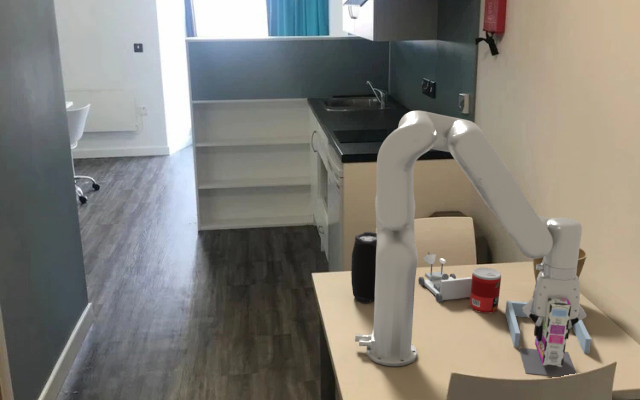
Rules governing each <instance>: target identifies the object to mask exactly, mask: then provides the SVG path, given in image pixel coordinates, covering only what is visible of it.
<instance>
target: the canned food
mask: <svg viewBox="0 0 640 400" xmlns="http://www.w3.org/2000/svg"><path fill="white" fill-rule="evenodd" d="M471 273H472V275H471V277H472V283H471V295H470V297H469V305H470V308H471V309H472V310H474V311H476V312H478V313H481V314H482V313H483V314H493V313H495V312H497V310H498V308H499V303H500V302H499V300H500V290H501V282H502V273H501V272H500V271H499V270H497V269H495V268H491V267H476V268H474V269H473V270H472V272H471Z"/></svg>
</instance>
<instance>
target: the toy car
mask: <svg viewBox="0 0 640 400" xmlns="http://www.w3.org/2000/svg"><path fill="white" fill-rule="evenodd" d="M436 257H437V255H436V254H435V253H434V254H433V253H431V254H430V252H427V255H425V256H424V257H423V260H424V261H425V262H426V263H427V264H428V265H430V272H425V273H424V276H425V277H426V279H425V278H424V276H419V277H418V281H417V282H418V285H420V286H421V287H426V288H427V289H428V290H429V291H430V292H431V293H432V294H433V295H435V301H436V302H437V303H438V304H442V303H443V301H446V300H447V301H448V300H457V299H465V298H470V295H471V283H472V276H470V277H468V276H467V277H460V278H458V277H456V274H455V273H450V274H449V275H448V274H447V273H445V272H444V271H443V267H444V265H445V264H446V259H444V258H441V257H439V262H440V263H441V267H440V271H433V265H434V264H435V262H436Z"/></svg>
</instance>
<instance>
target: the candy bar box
mask: <svg viewBox="0 0 640 400" xmlns="http://www.w3.org/2000/svg"><path fill="white" fill-rule="evenodd" d="M570 312H571V303H570V301H569V300H564V299H551V298H549V299H548V304H547V312H546V317H544V319H543V321H542V327H543V330H542V338H541V341H538V340H537V337H536V336H535V341H534V345H535V349H537V351H538V353H539V356H540V359H541V362H542V365H543V366H552V367H563V361H564V354H565V352H566V345H567V340H568V339H567V332H568V326H569V319H570Z"/></svg>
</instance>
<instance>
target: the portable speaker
mask: <svg viewBox="0 0 640 400" xmlns="http://www.w3.org/2000/svg"><path fill="white" fill-rule="evenodd" d="M376 247H377V232H372V231H364V232H363V233H360V234H357V235H355V236H354V244H353V248H352V253H351V266H350V267H351V271H350V275H351V289H352V295H353V297H354V299H355V300H356V302H357V303H361V304H369V303H370V302H373V301H375V276H376Z"/></svg>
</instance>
